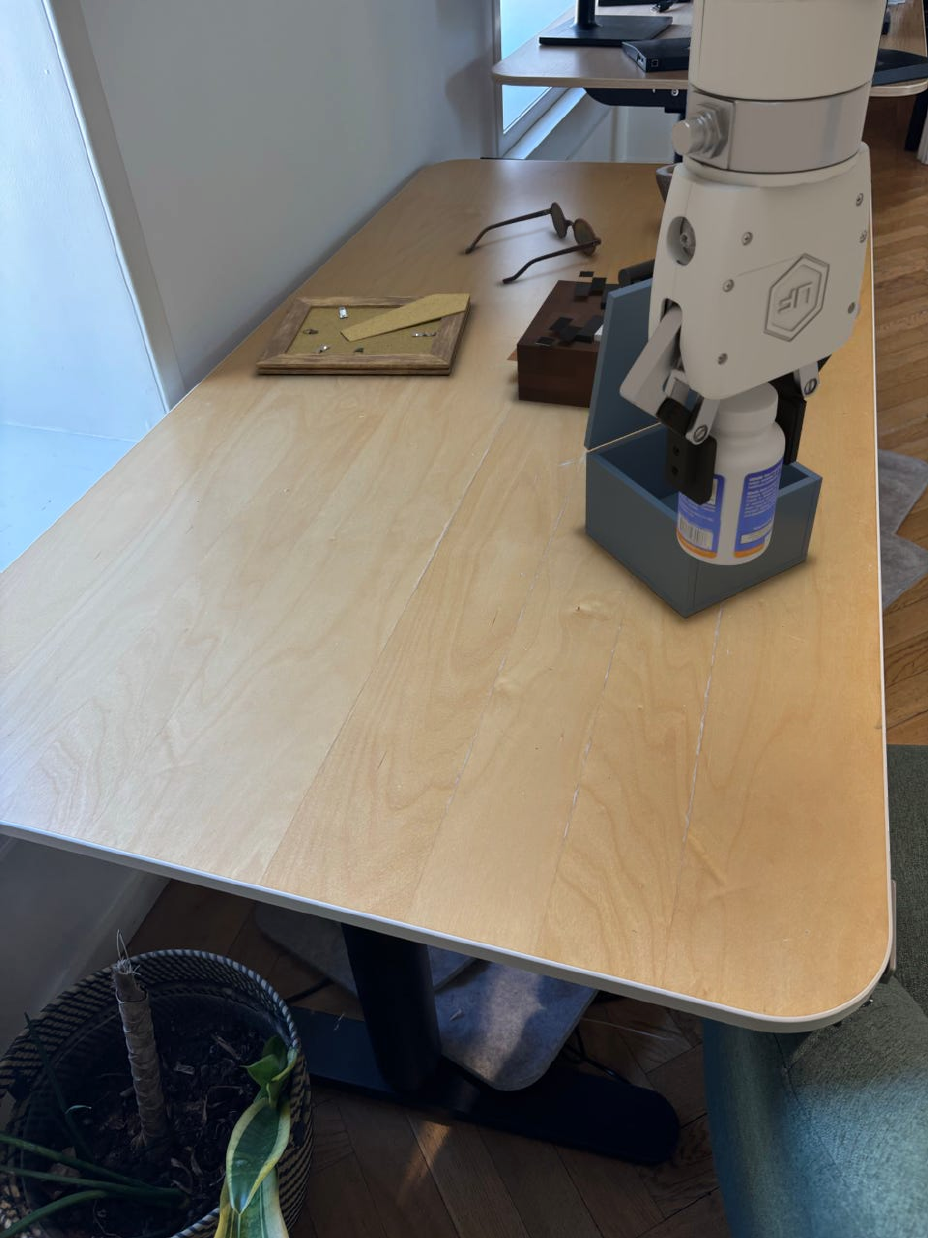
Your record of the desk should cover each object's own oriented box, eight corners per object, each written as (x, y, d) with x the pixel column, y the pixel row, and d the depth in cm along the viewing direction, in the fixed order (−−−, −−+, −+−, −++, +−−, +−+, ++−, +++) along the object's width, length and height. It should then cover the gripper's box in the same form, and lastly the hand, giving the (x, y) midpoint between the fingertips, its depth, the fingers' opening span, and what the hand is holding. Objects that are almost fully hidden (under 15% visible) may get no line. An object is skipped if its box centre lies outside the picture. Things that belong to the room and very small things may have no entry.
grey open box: (806, 560, 88) (823, 477, 82) (684, 618, 83) (693, 535, 77) (698, 483, 98) (706, 404, 92) (584, 532, 93) (585, 452, 87)
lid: (753, 250, 79) (713, 220, 82) (614, 297, 75) (577, 264, 77) (710, 402, 91) (676, 372, 94) (588, 450, 87) (556, 417, 89)
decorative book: (778, 367, 98) (491, 340, 107) (768, 433, 103) (495, 402, 112) (799, 285, 111) (542, 267, 120) (789, 348, 116) (543, 325, 125)
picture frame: (470, 306, 131) (298, 307, 134) (470, 293, 130) (295, 294, 133) (449, 376, 117) (258, 375, 121) (448, 362, 116) (255, 361, 120)
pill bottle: (764, 513, 60) (787, 366, 53) (774, 569, 56) (800, 418, 49) (673, 511, 61) (685, 367, 54) (676, 567, 57) (689, 418, 50)
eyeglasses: (601, 261, 139) (601, 225, 135) (506, 286, 135) (504, 250, 131) (551, 228, 149) (550, 194, 145) (461, 251, 145) (459, 216, 141)
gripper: (675, 194, 38) (651, 564, 50) (980, 97, 44) (892, 450, 56) (561, 149, 43) (564, 495, 55) (848, 67, 48) (794, 397, 61)
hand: (730, 469), depth 55 cm, fingers closed on pill bottle, 5 cm apart
